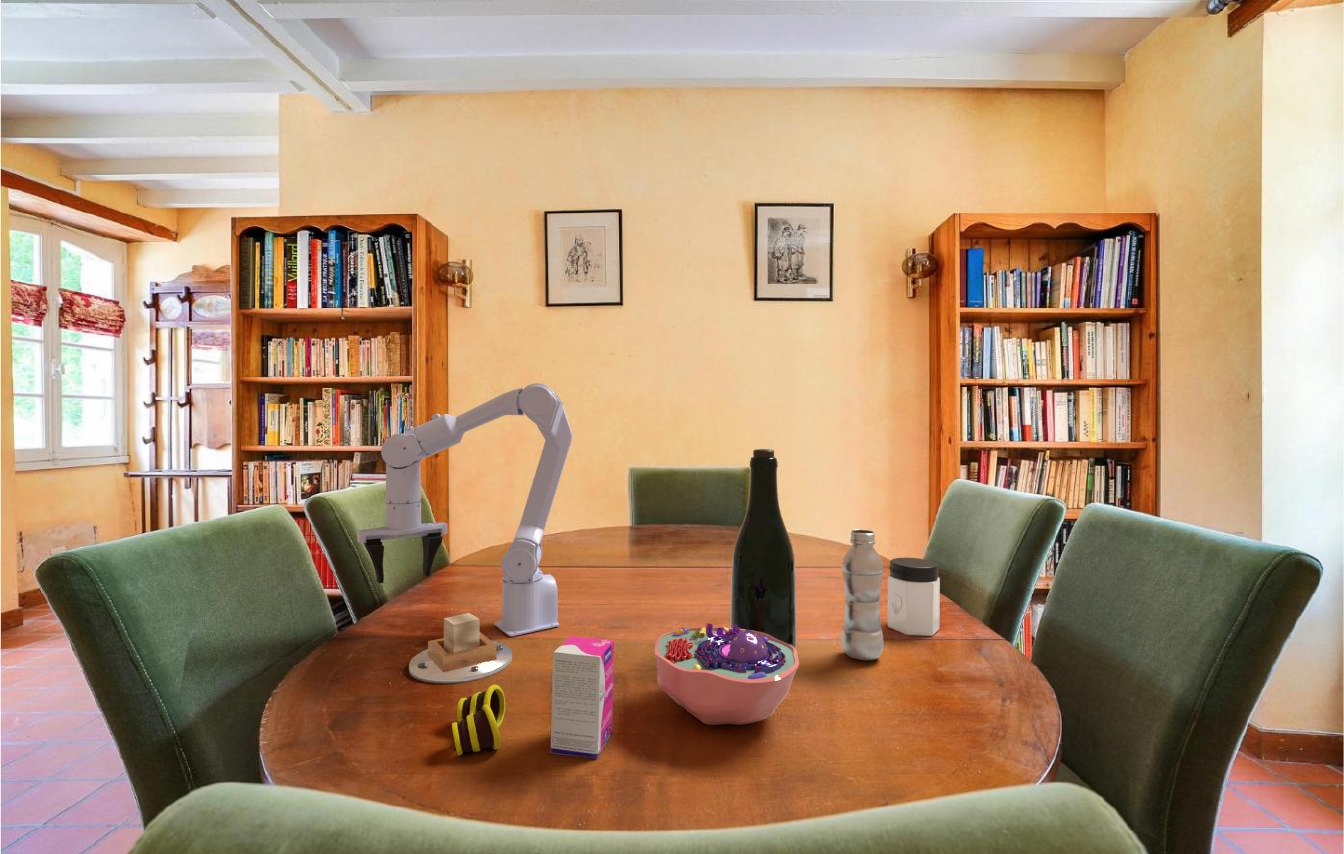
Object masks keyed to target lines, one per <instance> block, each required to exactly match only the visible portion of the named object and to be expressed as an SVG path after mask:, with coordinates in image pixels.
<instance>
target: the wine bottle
mask: <svg viewBox="0 0 1344 854" xmlns="http://www.w3.org/2000/svg"><path fill="white" fill-rule="evenodd" d="M778 463H779V462H778V458H777V457H776V456H775V450H774V449H769V448H758V449H753V452H752V457H750V460H749V470H750V473H749V474H750V476H749V477H750V481H749V495H748V502H747V507H746V512H745V515H744V519H743V521H742V524H741V526H740V530H739V532H738V534H737V538H736V540H735V541H734V547H733V552H732V558H731V559H732V562H731V581H730V583H731V584H730V588H731V589H730V620H729V621H730V622H729V623H730V625H729V626H730V627H729V628H733V625H734V624H735V625H737V628H738V627H739V628H740V629H746V630H752V631H757V632H763V633H765V634H768V635H770V636H772V637H774V638H776V639H778V640H781V641H783V642H785V643H788V644H790V645H792V646H793V647H794V648H795V649H796V650H797V594H796V591H797V590H796V589H797V586H796V581H797V580H796V564H795V555H794V554H795V553H794V548H793V544H792V541H791V539H790V535H789V533H788V530H787V527H786V525H785V522H784V518H783V517H782V512H781V509H780V504H779V503H780V502H779V495H778V466H779V465H778Z"/></svg>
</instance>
